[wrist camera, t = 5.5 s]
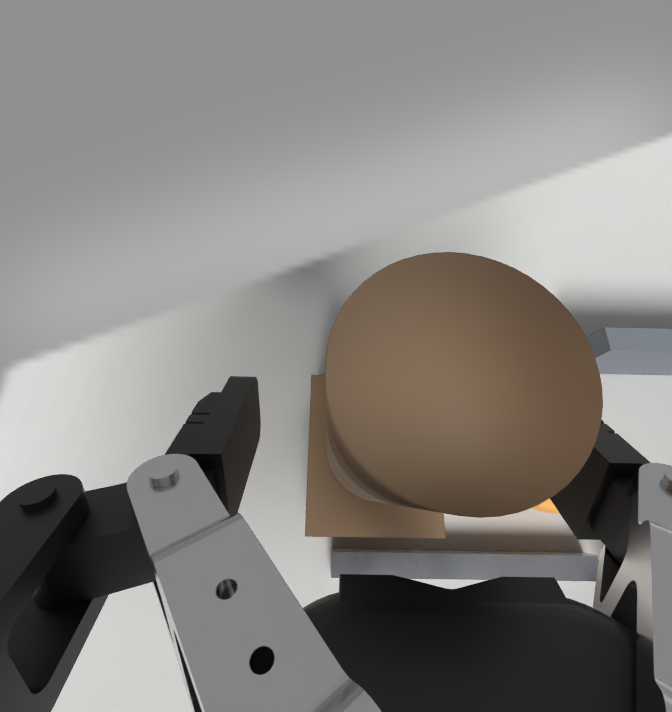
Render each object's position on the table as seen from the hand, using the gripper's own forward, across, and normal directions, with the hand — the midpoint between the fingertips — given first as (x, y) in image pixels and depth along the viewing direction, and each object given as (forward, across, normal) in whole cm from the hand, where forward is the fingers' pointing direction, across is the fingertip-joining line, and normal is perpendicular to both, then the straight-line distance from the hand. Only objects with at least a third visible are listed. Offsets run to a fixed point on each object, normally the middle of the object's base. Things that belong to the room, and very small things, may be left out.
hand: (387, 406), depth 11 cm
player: (+5, 0, +7) cm, 9 cm away
